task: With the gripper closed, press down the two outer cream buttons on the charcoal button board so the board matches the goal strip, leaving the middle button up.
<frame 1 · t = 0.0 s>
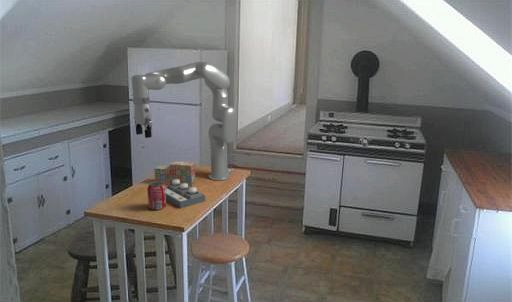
hand: (143, 135, 194), 31 cm above the table, tool pointing down, fingers open, 9 cm apart
button 2: (192, 190, 193), point 6 cm above the table, slide at 0.0 cm
stack of blocks: (175, 184, 220), on the table
button middle: (183, 186, 199), point 6 cm above the table, slide at 0.0 cm
button 1: (175, 182, 204), point 6 cm above the table, slide at 0.0 cm
beverage can: (157, 207, 187), on the table
button board: (180, 197, 199), on the table
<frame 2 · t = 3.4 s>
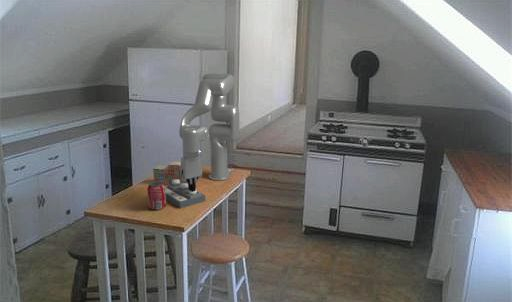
hand: (192, 190, 193), 6 cm above the table, tool pointing down, fingers closed
button 2: (192, 192, 193), point 5 cm above the table, slide at 1.1 cm, touching gripper
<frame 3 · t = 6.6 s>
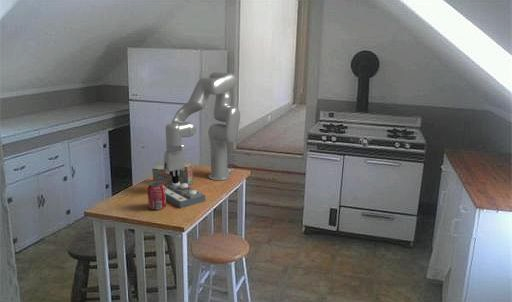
hand: (175, 182, 204), 6 cm above the table, tool pointing down, fingers closed
button 2: (192, 193, 193), point 4 cm above the table, slide at 1.5 cm
button 1: (175, 184, 205), point 5 cm above the table, slide at 1.2 cm, touching gripper
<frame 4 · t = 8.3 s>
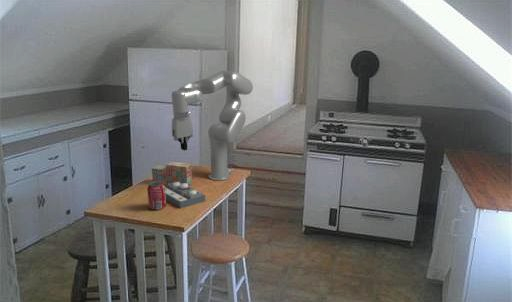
hand: (184, 149, 206), 22 cm above the table, tool pointing down, fingers closed
button 1: (176, 184, 205), point 4 cm above the table, slide at 1.5 cm
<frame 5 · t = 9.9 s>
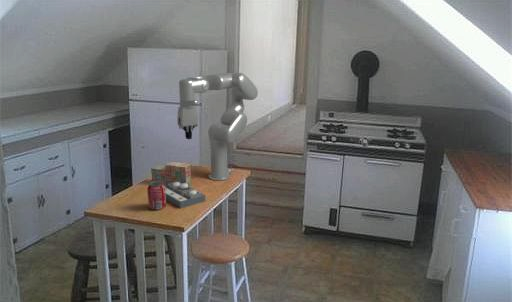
hand: (188, 138, 207), 27 cm above the table, tool pointing down, fingers closed
at the end: button 2 slide at 1.5 cm; button 1 slide at 1.5 cm; button middle slide at 0.0 cm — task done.
